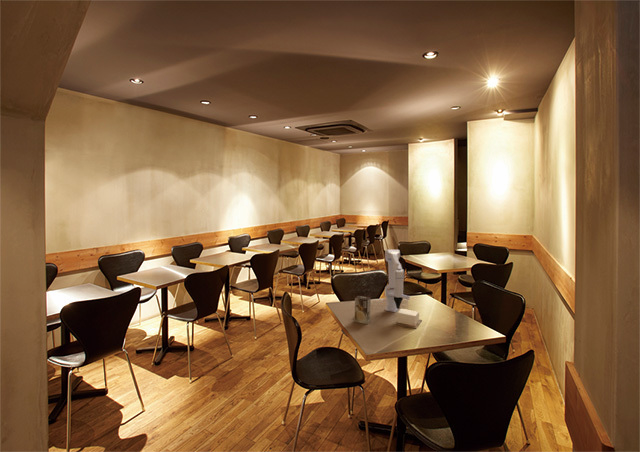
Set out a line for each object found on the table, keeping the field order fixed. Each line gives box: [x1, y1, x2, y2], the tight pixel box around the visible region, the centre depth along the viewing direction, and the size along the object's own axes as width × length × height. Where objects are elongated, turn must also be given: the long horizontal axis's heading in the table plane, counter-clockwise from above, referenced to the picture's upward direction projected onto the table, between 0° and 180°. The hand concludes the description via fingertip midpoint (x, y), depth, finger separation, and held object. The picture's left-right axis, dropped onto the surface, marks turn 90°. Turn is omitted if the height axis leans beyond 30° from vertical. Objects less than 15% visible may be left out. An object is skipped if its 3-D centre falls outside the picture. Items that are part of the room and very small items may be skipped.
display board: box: [397, 319, 423, 330], centre depth 218 cm, size 16×12×1 cm
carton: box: [396, 308, 420, 326], centre depth 218 cm, size 9×6×12 cm
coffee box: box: [354, 295, 372, 325], centre depth 219 cm, size 9×6×16 cm
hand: (398, 308), depth 221 cm, fingers closed
